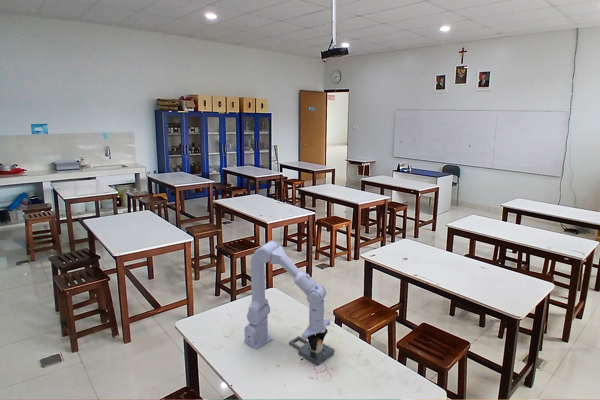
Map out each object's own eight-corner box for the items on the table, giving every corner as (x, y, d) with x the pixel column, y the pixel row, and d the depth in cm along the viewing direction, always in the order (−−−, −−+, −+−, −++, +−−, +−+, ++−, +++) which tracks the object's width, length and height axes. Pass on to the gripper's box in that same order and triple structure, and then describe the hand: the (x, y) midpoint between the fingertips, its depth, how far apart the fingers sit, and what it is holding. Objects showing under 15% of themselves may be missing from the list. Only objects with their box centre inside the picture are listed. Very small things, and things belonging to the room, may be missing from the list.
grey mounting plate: (300, 351, 154) (300, 348, 154) (289, 344, 159) (289, 341, 158) (310, 345, 158) (310, 342, 158) (298, 338, 163) (298, 335, 162)
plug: (317, 356, 150) (317, 343, 148) (309, 352, 153) (310, 338, 151) (322, 353, 152) (322, 339, 151) (314, 348, 155) (315, 335, 153)
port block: (317, 365, 145) (317, 361, 145) (298, 354, 152) (298, 349, 152) (333, 353, 153) (334, 349, 152) (315, 343, 159) (315, 339, 159)
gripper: (311, 328, 141) (311, 360, 144) (336, 313, 151) (335, 343, 154) (297, 321, 145) (298, 352, 149) (322, 307, 156) (322, 336, 159)
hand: (316, 347), depth 152 cm, fingers closed on plug, 3 cm apart
